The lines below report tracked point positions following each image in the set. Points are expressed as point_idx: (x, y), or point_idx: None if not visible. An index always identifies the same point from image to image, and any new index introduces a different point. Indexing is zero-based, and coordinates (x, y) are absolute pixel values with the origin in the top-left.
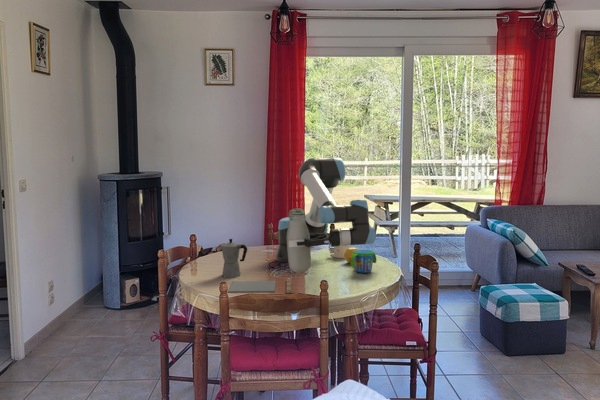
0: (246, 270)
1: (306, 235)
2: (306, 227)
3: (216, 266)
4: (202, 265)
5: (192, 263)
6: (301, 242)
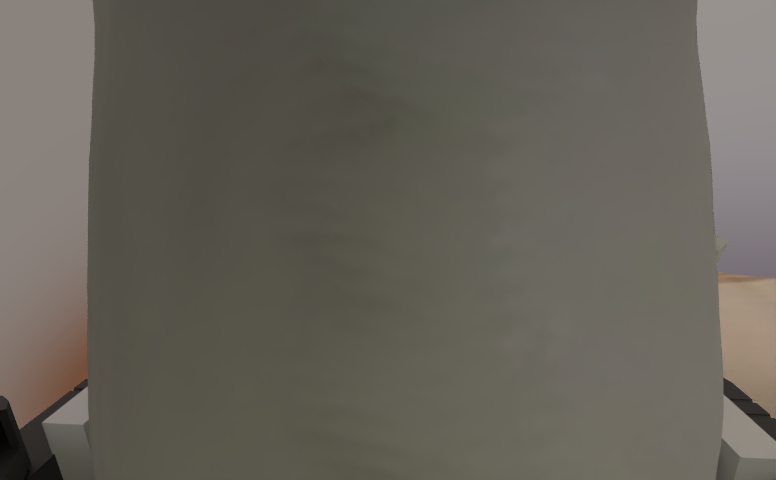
0: (769, 406)
1: (91, 413)
2: (114, 151)
3: (742, 318)
4: (721, 291)
5: (726, 275)
6: (60, 405)
